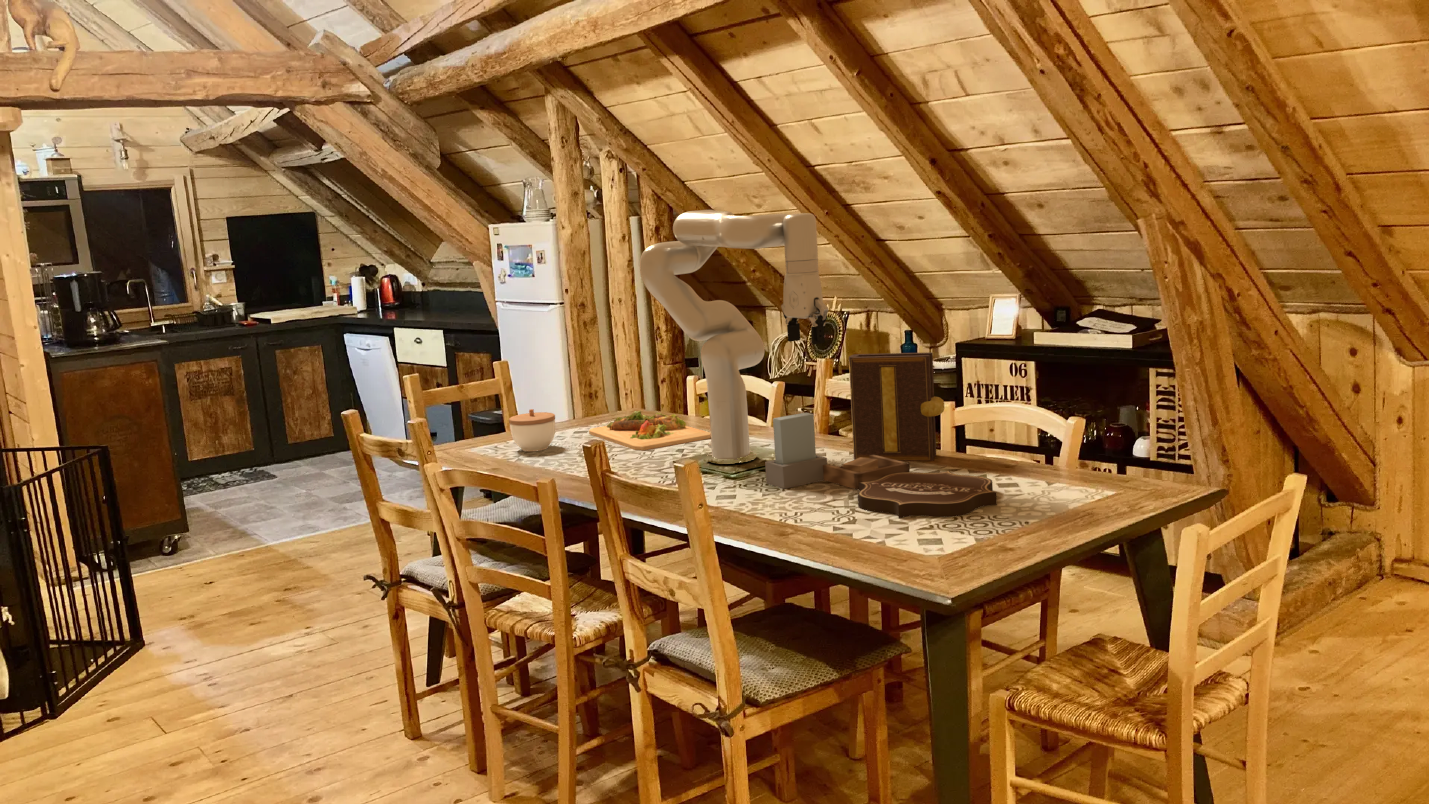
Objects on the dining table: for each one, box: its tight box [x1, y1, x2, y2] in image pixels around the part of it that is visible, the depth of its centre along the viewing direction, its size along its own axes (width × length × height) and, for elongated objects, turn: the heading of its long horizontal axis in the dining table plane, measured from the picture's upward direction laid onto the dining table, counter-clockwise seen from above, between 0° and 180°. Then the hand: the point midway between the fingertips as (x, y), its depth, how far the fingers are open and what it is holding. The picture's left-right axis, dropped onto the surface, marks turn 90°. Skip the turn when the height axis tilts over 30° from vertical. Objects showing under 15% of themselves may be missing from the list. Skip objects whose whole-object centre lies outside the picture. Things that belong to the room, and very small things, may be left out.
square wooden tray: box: [823, 455, 911, 491], centre depth 261 cm, size 13×14×4 cm
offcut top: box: [842, 457, 878, 473], centre depth 262 cm, size 5×7×2 cm, turn 140°
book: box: [848, 352, 945, 462], centre depth 278 cm, size 22×8×25 cm, turn 71°
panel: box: [772, 412, 817, 465], centre depth 262 cm, size 3×9×14 cm, turn 120°
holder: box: [764, 454, 828, 489], centre depth 263 cm, size 7×12×5 cm, turn 120°
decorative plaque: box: [857, 470, 998, 519], centre depth 240 cm, size 30×3×30 cm
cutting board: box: [588, 410, 711, 451], centre depth 329 cm, size 35×23×8 cm
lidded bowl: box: [508, 409, 556, 452], centre depth 320 cm, size 13×13×11 cm
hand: (806, 342), depth 269 cm, fingers open, 9 cm apart
